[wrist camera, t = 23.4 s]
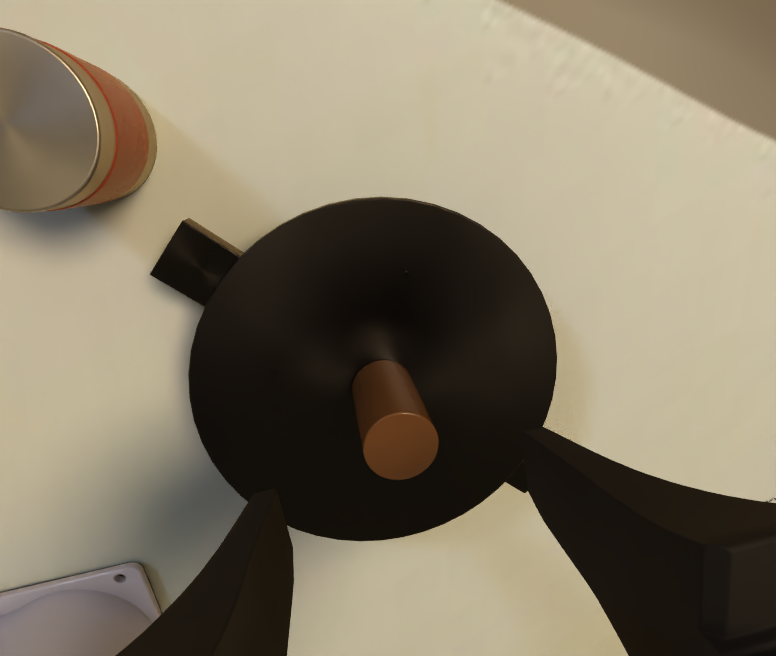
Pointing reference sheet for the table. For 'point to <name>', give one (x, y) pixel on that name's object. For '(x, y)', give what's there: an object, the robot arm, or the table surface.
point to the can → (66, 130)
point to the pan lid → (372, 367)
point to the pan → (209, 265)
